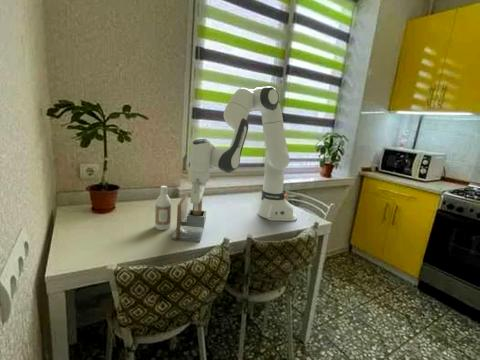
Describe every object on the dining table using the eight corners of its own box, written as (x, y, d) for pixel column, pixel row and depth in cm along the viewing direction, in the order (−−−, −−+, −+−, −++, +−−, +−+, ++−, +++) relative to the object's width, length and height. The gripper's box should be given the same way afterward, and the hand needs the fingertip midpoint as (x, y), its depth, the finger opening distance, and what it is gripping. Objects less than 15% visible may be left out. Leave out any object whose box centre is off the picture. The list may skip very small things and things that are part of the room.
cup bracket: (205, 227, 136) (207, 195, 132) (201, 242, 121) (204, 207, 117) (179, 225, 136) (180, 193, 132) (172, 239, 120) (173, 204, 116)
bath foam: (154, 230, 128) (155, 188, 123) (155, 224, 134) (156, 184, 129) (170, 230, 129) (171, 188, 124) (170, 224, 136) (171, 184, 131)
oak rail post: (201, 220, 129) (203, 195, 126) (200, 223, 125) (202, 198, 122) (192, 219, 129) (194, 194, 126) (191, 222, 125) (193, 197, 122)
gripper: (203, 183, 112) (201, 215, 115) (208, 172, 132) (206, 200, 135) (187, 182, 112) (186, 214, 115) (195, 171, 132) (193, 199, 135)
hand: (197, 206), depth 125 cm, fingers open, 8 cm apart
